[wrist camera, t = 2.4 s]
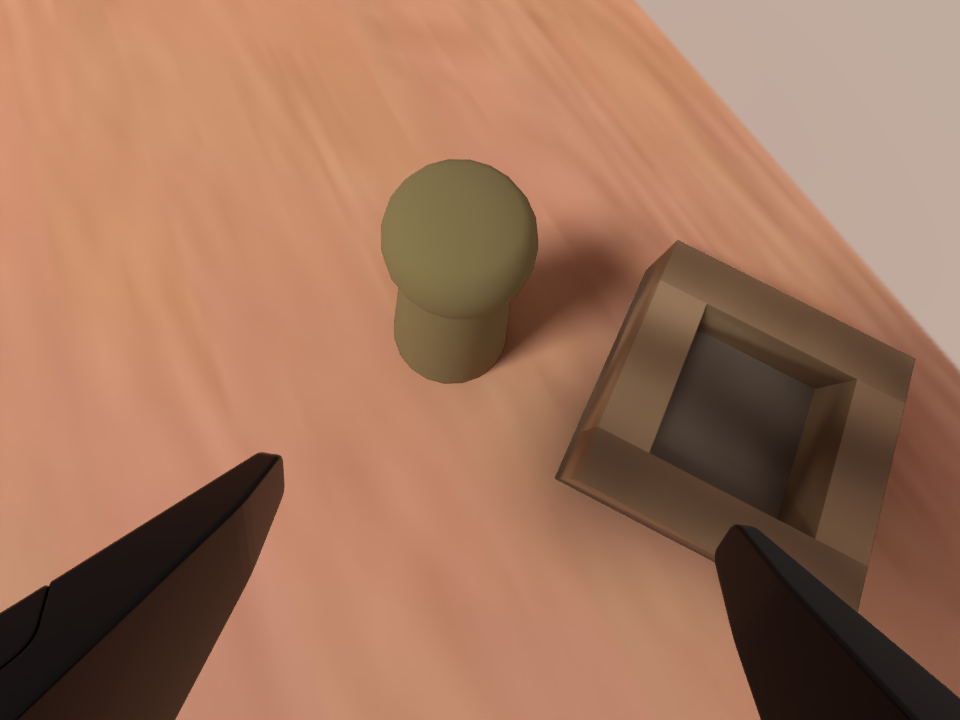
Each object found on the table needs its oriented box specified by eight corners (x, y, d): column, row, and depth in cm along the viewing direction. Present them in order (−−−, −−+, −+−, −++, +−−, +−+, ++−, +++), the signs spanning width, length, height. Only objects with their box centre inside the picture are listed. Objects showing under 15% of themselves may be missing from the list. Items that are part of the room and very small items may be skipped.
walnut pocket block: (790, 601, 22) (854, 624, 19) (554, 478, 22) (575, 479, 19) (851, 374, 25) (915, 358, 22) (646, 270, 26) (677, 239, 22)
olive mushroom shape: (424, 259, 25) (415, 97, 14) (523, 303, 25) (590, 174, 14) (373, 354, 23) (320, 253, 13) (480, 402, 23) (518, 341, 12)
